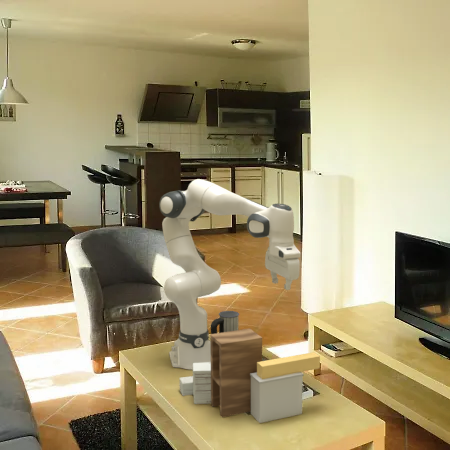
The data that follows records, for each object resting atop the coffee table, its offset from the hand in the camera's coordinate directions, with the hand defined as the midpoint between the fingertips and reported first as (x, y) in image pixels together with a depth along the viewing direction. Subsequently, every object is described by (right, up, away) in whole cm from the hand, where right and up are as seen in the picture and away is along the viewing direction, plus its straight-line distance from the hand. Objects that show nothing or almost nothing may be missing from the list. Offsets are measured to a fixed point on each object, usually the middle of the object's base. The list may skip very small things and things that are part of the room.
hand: (281, 286), depth 216 cm
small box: (-34, -40, +3) cm, 52 cm away
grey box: (-3, -42, -14) cm, 44 cm away
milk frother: (-17, -32, +45) cm, 58 cm away
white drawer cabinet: (-28, -41, -3) cm, 50 cm away
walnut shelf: (-17, -41, -9) cm, 45 cm away
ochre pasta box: (+1, -28, -15) cm, 31 cm away
